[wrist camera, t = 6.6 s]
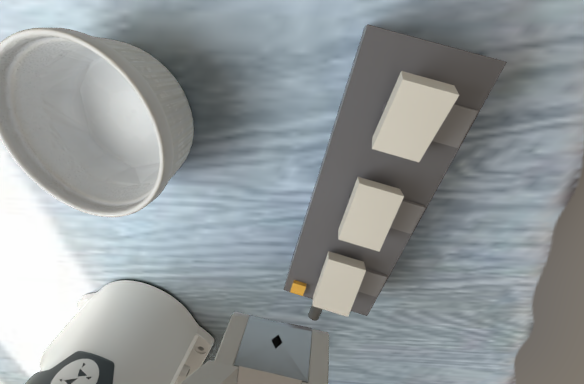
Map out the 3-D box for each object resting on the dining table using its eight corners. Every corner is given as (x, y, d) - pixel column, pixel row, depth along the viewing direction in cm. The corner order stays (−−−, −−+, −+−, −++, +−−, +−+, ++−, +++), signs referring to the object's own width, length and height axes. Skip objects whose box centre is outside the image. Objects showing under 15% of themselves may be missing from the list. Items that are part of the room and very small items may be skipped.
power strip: (349, 315, 33) (349, 353, 29) (281, 294, 33) (271, 328, 29) (478, 58, 20) (511, 62, 16) (364, 27, 20) (368, 24, 16)
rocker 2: (377, 241, 22) (379, 251, 21) (338, 229, 22) (338, 239, 21) (400, 188, 20) (404, 196, 19) (357, 176, 20) (359, 183, 19)
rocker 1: (346, 306, 25) (348, 317, 24) (313, 295, 25) (312, 305, 24) (363, 261, 24) (366, 270, 23) (328, 251, 24) (328, 258, 23)
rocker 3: (416, 150, 19) (418, 162, 18) (372, 137, 19) (371, 148, 18) (454, 85, 16) (459, 95, 15) (401, 70, 16) (402, 79, 15)
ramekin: (206, 194, 29) (167, 235, 23) (82, 166, 30) (14, 198, 24) (209, 46, 23) (158, 49, 17) (53, 16, 24) (-49, 8, 18)
